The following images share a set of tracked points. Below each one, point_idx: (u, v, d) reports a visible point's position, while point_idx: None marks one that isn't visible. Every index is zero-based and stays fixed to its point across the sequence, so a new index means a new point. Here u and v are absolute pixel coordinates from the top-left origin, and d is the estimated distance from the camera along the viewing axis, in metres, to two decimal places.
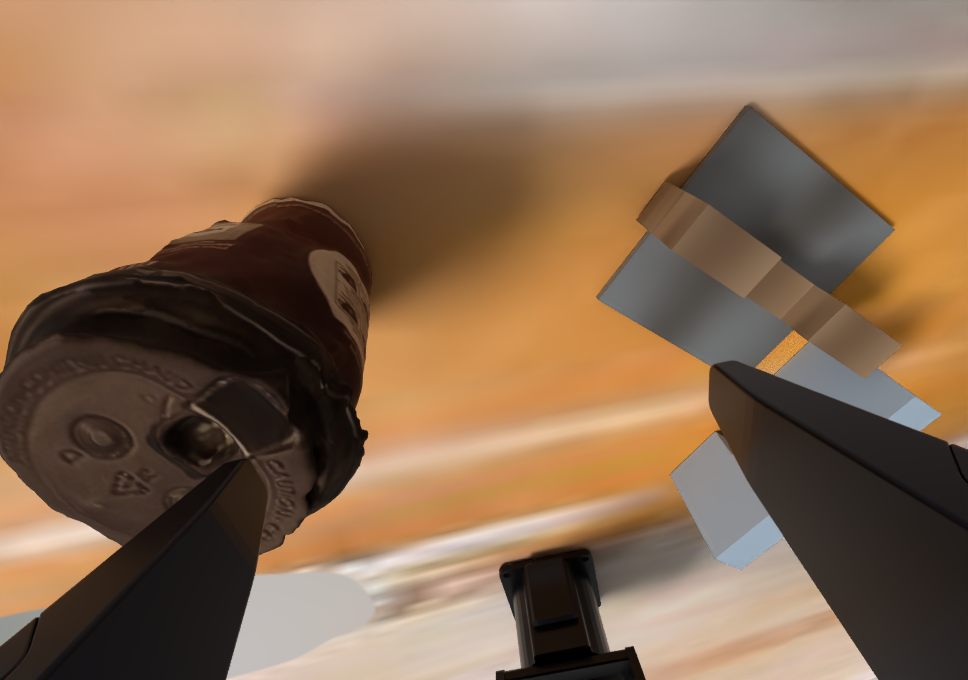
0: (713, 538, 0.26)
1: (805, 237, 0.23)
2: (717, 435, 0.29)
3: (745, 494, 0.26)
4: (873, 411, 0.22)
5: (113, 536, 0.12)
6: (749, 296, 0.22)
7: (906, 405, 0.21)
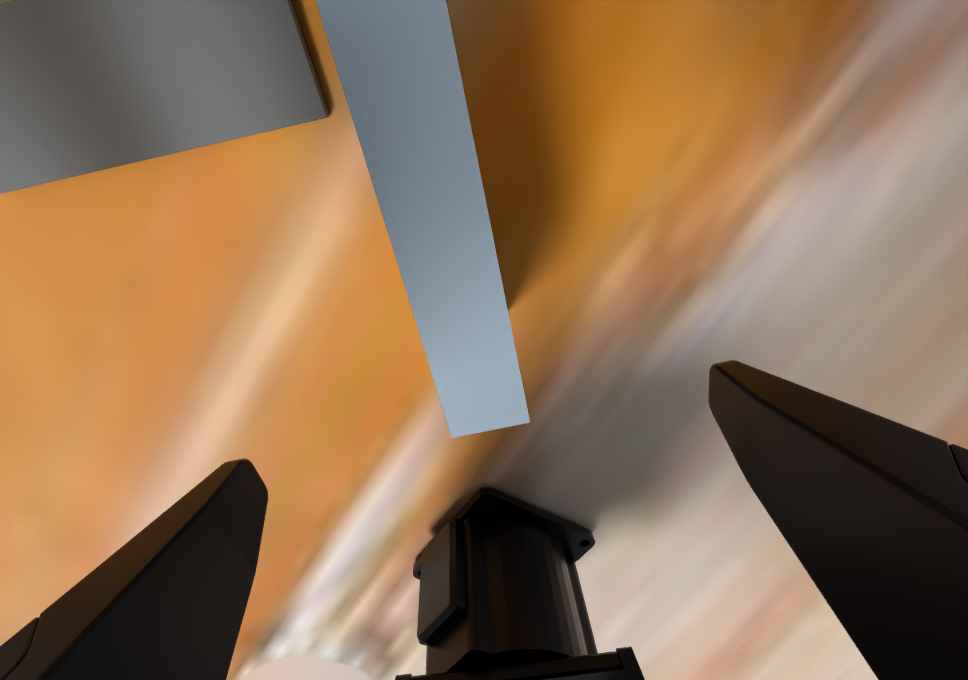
0: None
1: None
2: None
3: None
4: None
5: None
6: None
7: None
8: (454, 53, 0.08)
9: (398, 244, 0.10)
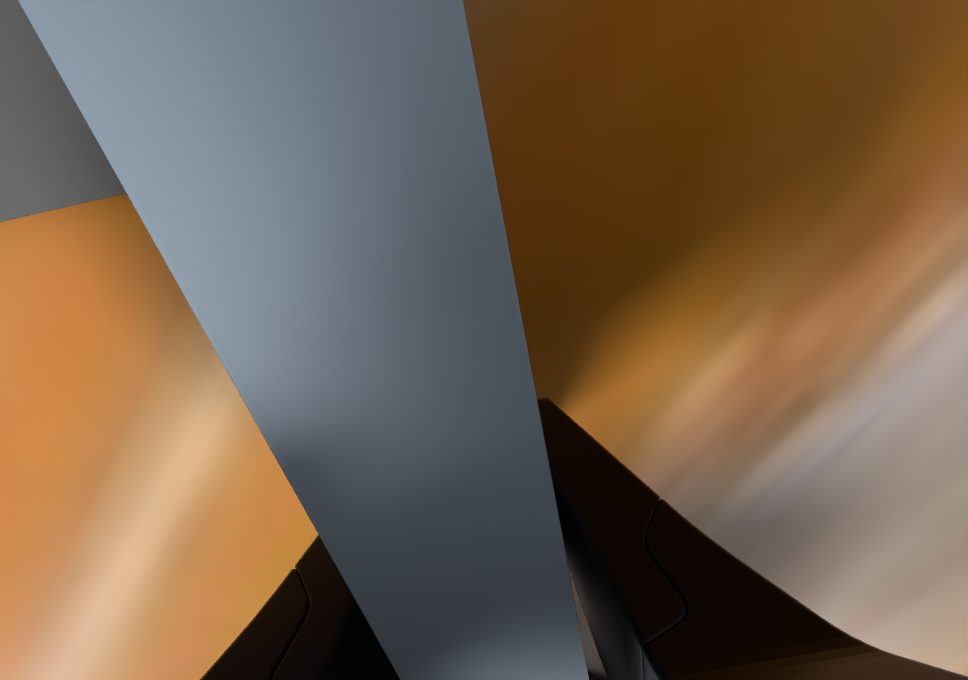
0: None
1: None
2: None
3: None
4: None
5: None
6: None
7: None
8: (466, 56, 0.02)
9: (326, 517, 0.04)
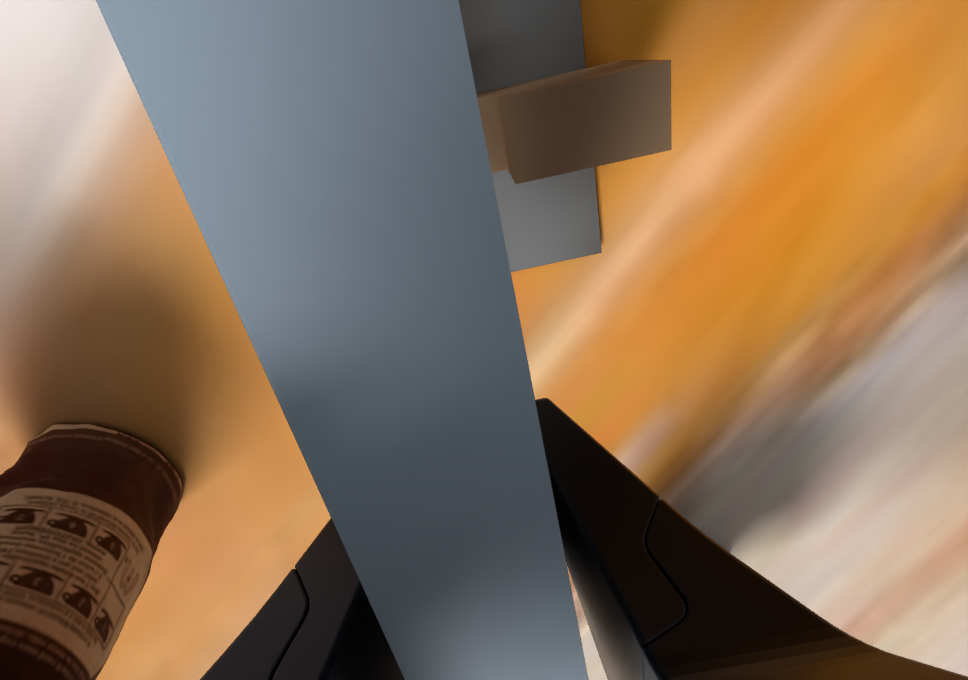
0: None
1: None
2: None
3: None
4: None
5: None
6: None
7: None
8: None
9: (319, 456, 0.04)
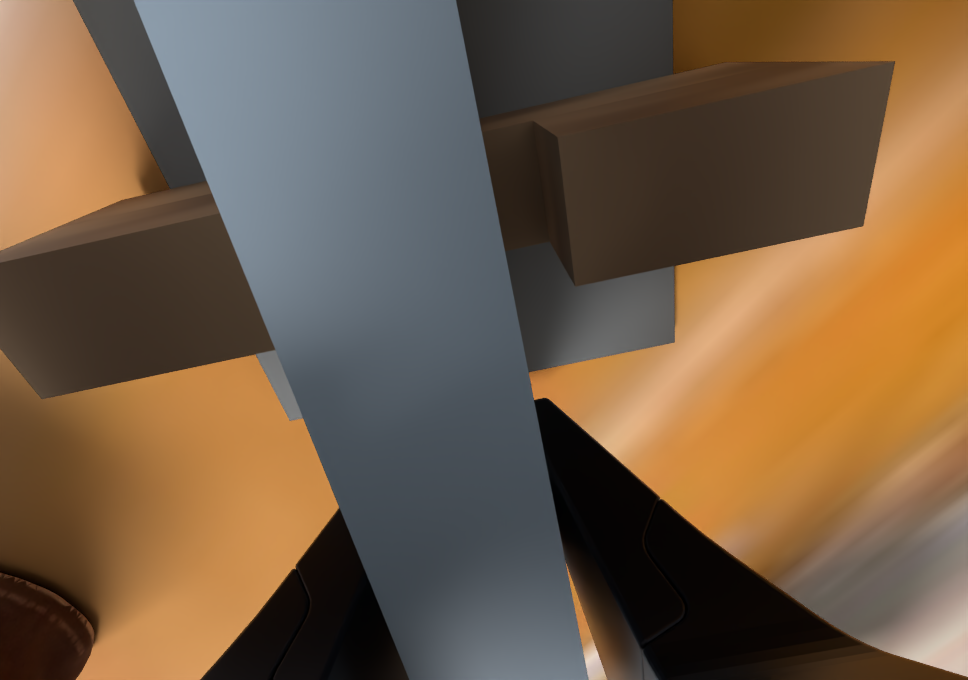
0: None
1: (476, 24, 0.09)
2: None
3: None
4: None
5: None
6: None
7: None
8: None
9: (319, 420, 0.04)
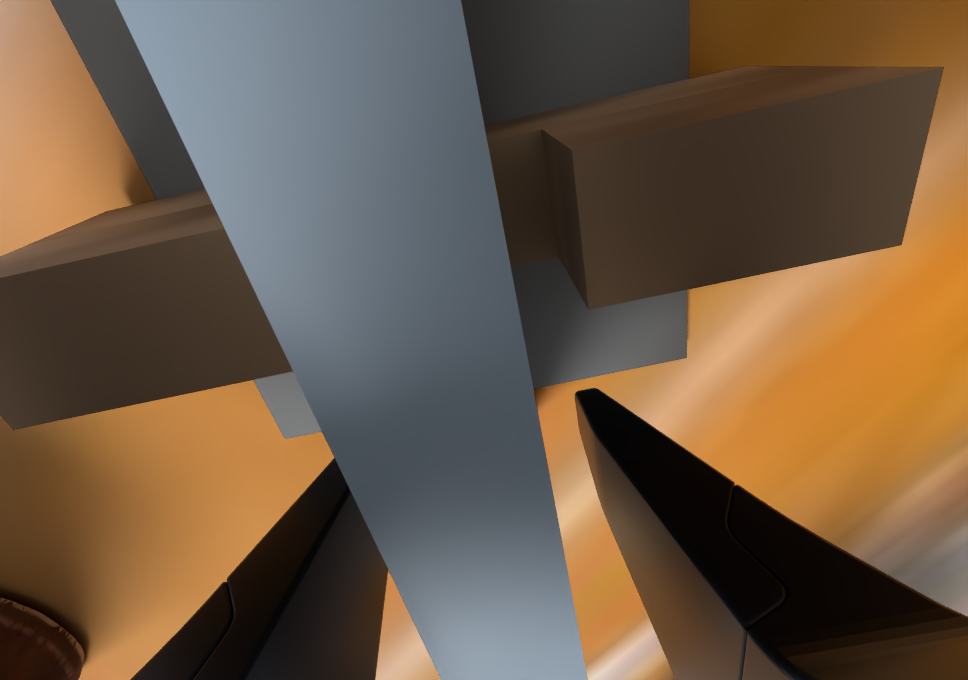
0: None
1: (480, 25, 0.08)
2: None
3: None
4: None
5: None
6: None
7: None
8: (474, 97, 0.03)
9: (354, 469, 0.05)
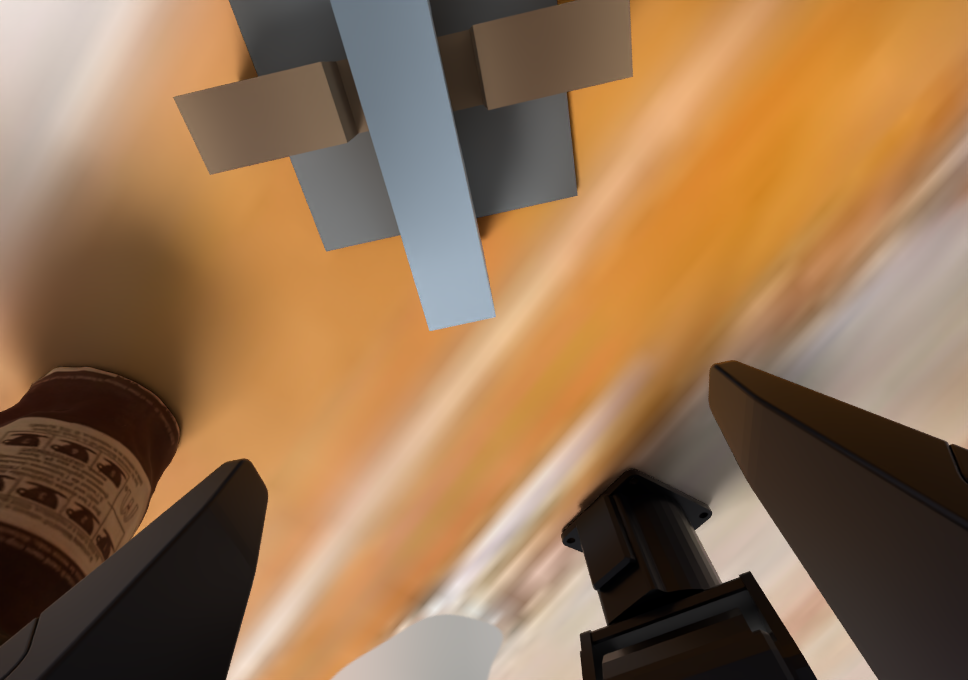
0: None
1: None
2: None
3: None
4: None
5: None
6: None
7: None
8: None
9: (380, 149, 0.12)
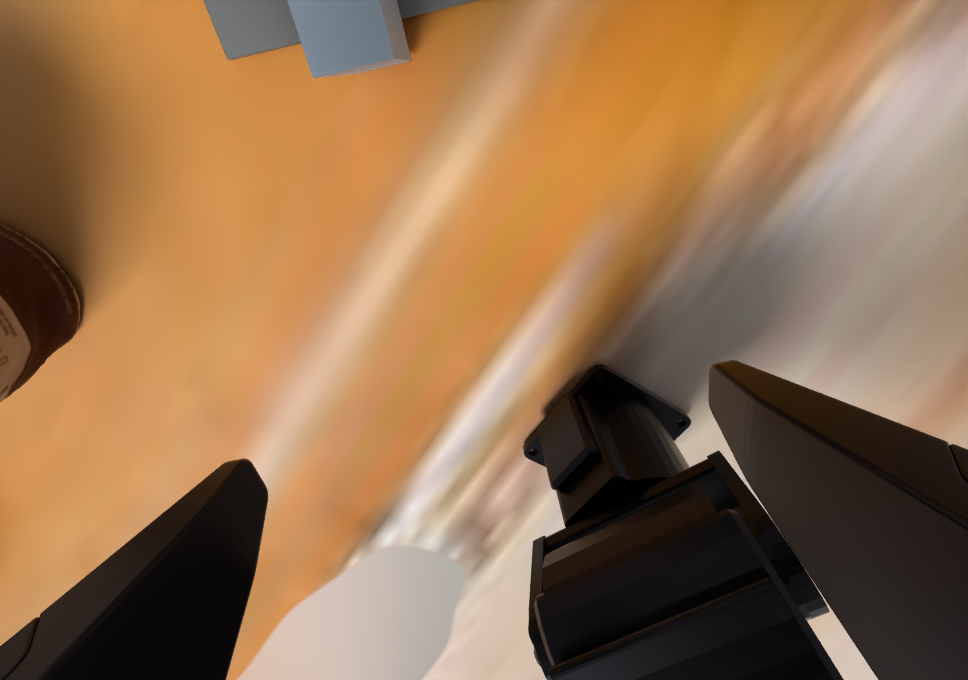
0: None
1: None
2: None
3: None
4: None
5: None
6: None
7: None
8: None
9: None
